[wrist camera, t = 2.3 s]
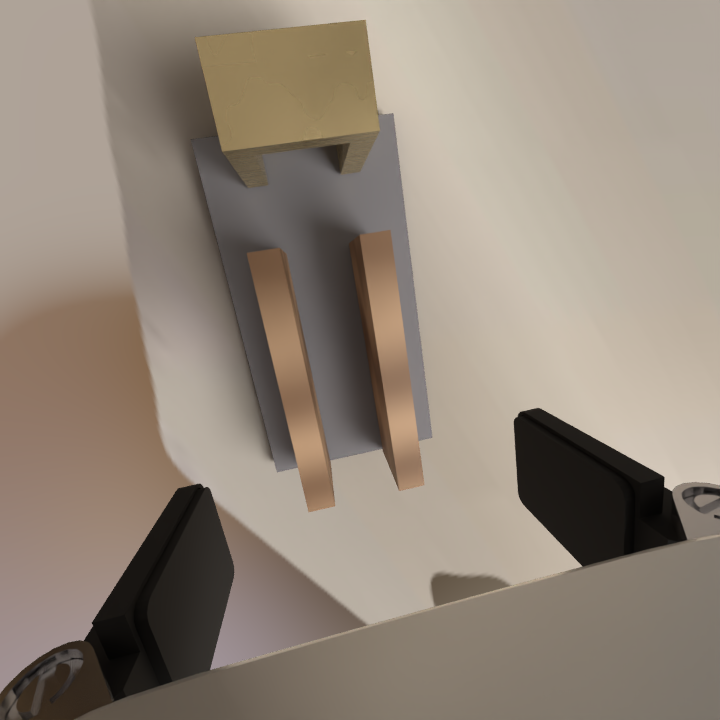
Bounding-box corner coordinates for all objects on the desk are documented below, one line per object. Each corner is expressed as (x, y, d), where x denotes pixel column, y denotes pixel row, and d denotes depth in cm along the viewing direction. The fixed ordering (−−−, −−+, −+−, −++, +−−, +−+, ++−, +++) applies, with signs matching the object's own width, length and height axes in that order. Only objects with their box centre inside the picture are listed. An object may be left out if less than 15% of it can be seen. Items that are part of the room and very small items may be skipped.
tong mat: (197, 146, 21) (190, 139, 20) (388, 121, 22) (393, 113, 21) (278, 463, 27) (277, 472, 25) (427, 430, 28) (432, 437, 27)
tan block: (230, 111, 19) (194, 37, 13) (348, 97, 20) (365, 19, 14) (248, 188, 20) (222, 151, 14) (360, 172, 21) (380, 130, 15)
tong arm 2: (260, 257, 21) (246, 253, 17) (286, 253, 22) (279, 247, 17) (309, 467, 25) (308, 512, 21) (330, 462, 25) (335, 506, 21)
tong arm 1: (348, 243, 22) (359, 234, 17) (373, 239, 22) (390, 229, 17) (382, 450, 26) (399, 491, 21) (403, 446, 26) (424, 485, 21)
